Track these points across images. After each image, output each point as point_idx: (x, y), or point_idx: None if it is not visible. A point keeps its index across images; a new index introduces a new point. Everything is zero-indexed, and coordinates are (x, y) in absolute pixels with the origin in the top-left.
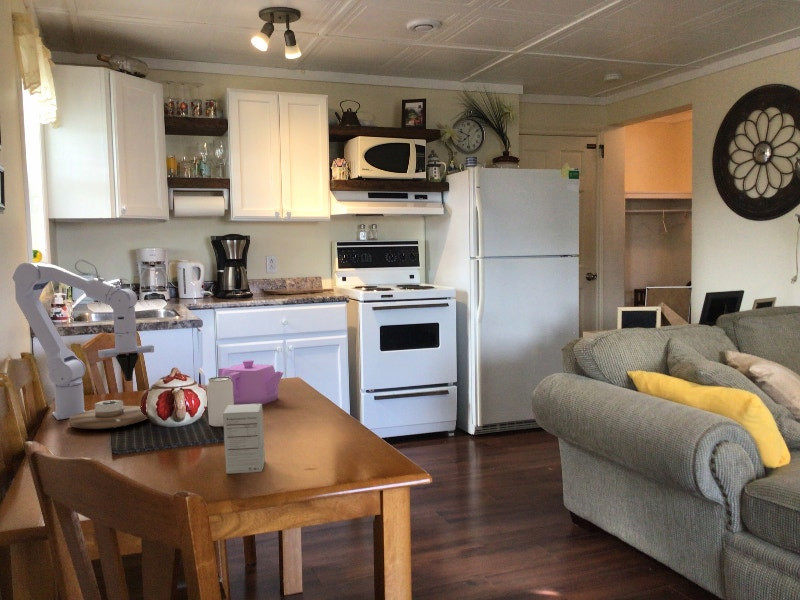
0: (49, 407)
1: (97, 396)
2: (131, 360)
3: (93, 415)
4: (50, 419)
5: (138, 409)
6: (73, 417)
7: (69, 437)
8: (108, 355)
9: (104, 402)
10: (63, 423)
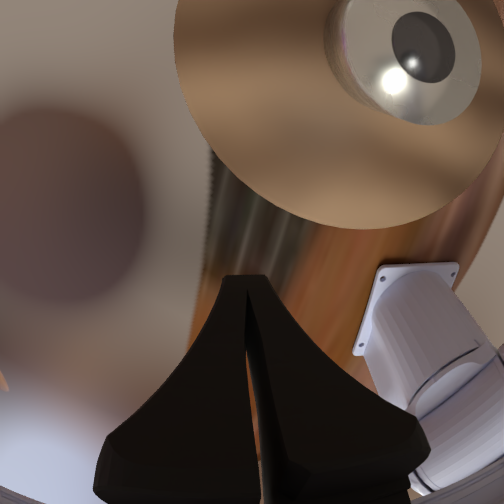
0: None
1: (258, 442)
2: (225, 428)
3: None
4: (455, 288)
5: (231, 55)
6: (492, 135)
7: (499, 5)
8: (482, 482)
9: (444, 63)
10: (466, 210)
